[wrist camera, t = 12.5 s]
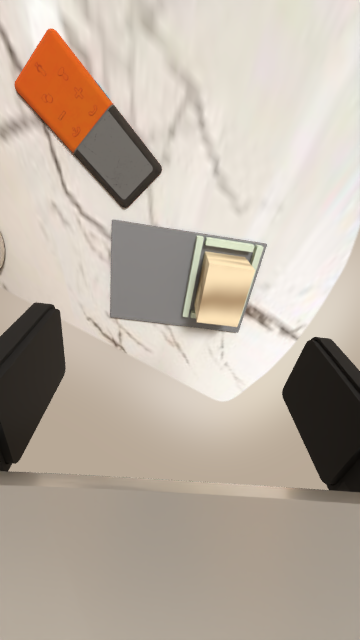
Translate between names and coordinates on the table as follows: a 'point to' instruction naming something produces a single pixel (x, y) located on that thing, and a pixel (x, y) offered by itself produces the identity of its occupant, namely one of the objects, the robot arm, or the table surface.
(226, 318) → the card box
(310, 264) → the table surface
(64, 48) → the phone
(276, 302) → the table surface
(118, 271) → the mat
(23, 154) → the table surface
